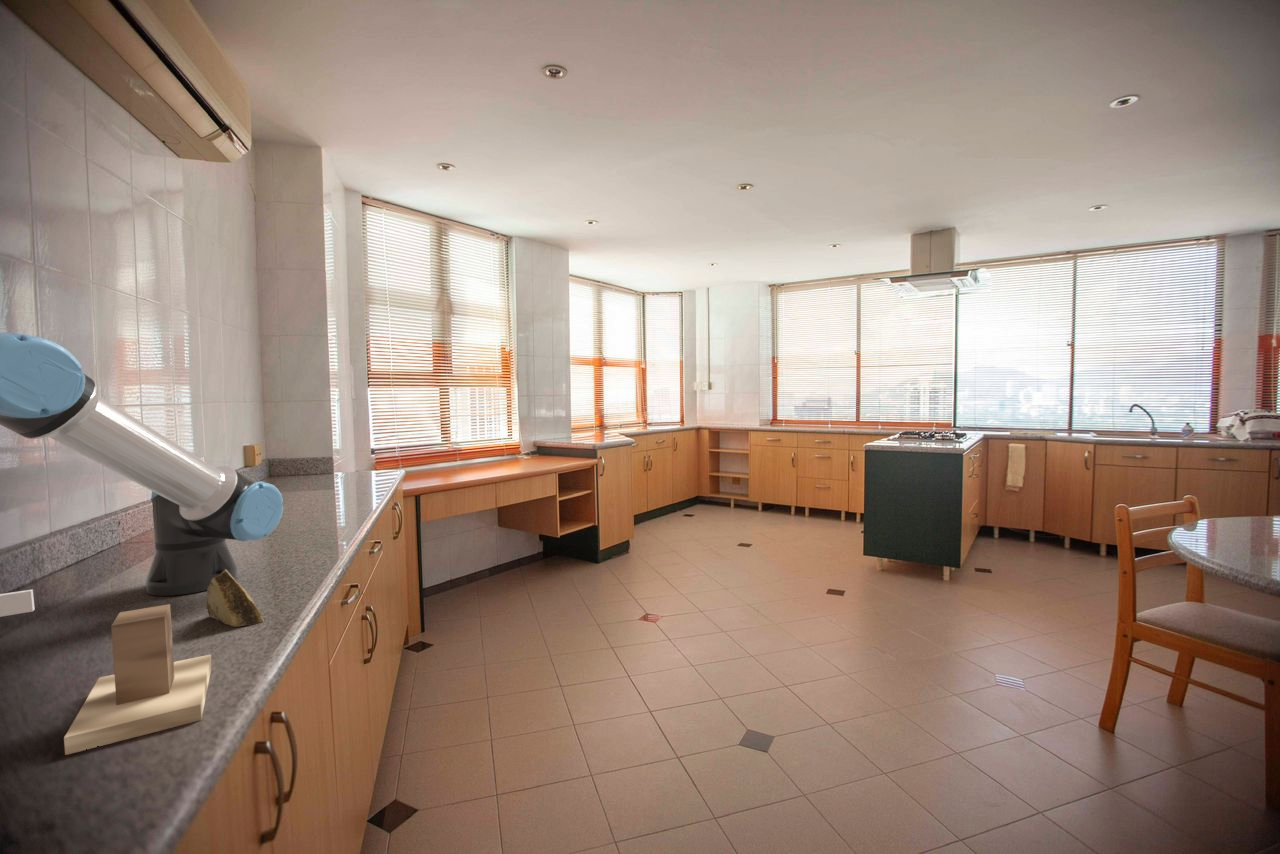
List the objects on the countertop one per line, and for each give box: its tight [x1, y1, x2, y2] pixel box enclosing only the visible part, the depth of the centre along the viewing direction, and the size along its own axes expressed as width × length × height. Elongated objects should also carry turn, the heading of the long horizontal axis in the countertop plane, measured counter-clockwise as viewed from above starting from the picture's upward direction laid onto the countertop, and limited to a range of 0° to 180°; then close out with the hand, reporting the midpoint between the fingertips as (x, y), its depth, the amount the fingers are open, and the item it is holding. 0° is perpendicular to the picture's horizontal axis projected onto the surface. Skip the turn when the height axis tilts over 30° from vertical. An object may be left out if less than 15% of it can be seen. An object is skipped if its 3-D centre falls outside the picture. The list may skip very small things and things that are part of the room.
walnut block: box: [110, 603, 175, 705], centre depth 72 cm, size 5×5×10 cm
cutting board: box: [63, 653, 213, 756], centre depth 73 cm, size 16×12×2 cm
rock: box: [205, 569, 265, 628], centre depth 101 cm, size 11×9×10 cm
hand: (15, 617), depth 68 cm, fingers open, 13 cm apart
